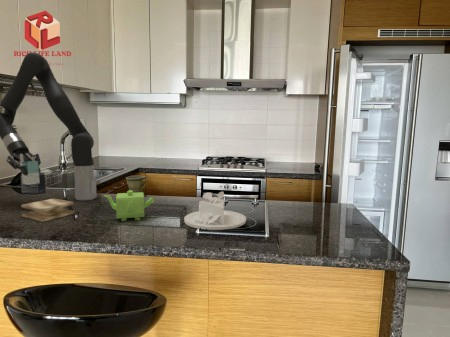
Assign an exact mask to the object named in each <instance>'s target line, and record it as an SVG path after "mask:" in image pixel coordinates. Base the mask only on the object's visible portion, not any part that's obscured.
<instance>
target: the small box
mask: <svg viewBox="0 0 450 337" xmlns="http://www.w3.org/2000/svg"><path fill="white" fill-rule="evenodd" d="M45 175H46V174H45V173H39V181H40V183H37V184H31V185H27V184H23V182H22V174H20V175H19V177H20V189H21V190H20V192H21V194H22V195H23V194H24V195H40V194H43V193H46V192H47V191H46V190H47V189H46V176H45Z"/></svg>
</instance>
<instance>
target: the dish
mask: <svg viewBox="0 0 450 337" xmlns="http://www.w3.org/2000/svg"><path fill="white" fill-rule="evenodd" d="M224 196H225V193H224V191H219V192H218V194H217V196H213V192H204V194H203V195H202V198H203V199H205V200H198V210H197V211H194V212H191V213H187V214H186V215H185V216H184V218H183V221H184V224H185V225H187V226H188V227H192V228H195V229H199V228H201V229H200V230H206V229H207V230H208V231H223V230H231V229H236V228H239V227H241V226H243V225H245V224H246V222H247V217H246V216H245V215H244V214H242V213H241V212H237V211H232V210H225V199H223V198H224ZM207 230H206V231H207Z"/></svg>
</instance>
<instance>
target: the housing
mask: <svg viewBox="0 0 450 337" xmlns="http://www.w3.org/2000/svg"><path fill="white" fill-rule="evenodd" d="M22 163H23V164H24V166H25V168H26V170H27V171H28V174H27V175H26V176H25V175H23V174H22V173H21V175H22V182H23V184H27V185H31V184H37V183H40V181H39V174H40V173H39V168H40V166H39V167H38V161H24V162H22Z"/></svg>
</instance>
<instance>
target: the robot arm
mask: <svg viewBox="0 0 450 337" xmlns="http://www.w3.org/2000/svg"><path fill="white" fill-rule="evenodd" d="M34 78H36V80H37V81H38V82H39V85H40V86H41V87H42V89H43V94H44V97H45V99H46V101H47V102H48V103H47V104H48V105H49V107H50V108H51V110H52V111H53V113H54V115H55V116H56V117H57V119H58V120H59V121H60V122H62V124H63V125H64V126H65V127H66V129H68V131H69V133H70V134H71V136H72V138H71V142H70V146H71V149H70V150H71V157H72V161H73V174H74V175H73V177H74V192H75V194H74V195H75V200H76V201H92V200H95V199H96V198H97V180H96V178H95V165H94V164H95V163H94V159H93V153H92V152H93V151H92V149H93V147H94V145H95V141H94V140H95V139H94V137H92V135H91V134H90V132H89V131H88V130H87V129H86V126H85V125H84V124H83V122H82V121H81V118H80V117H79V115H78V112H77V111H76V109H75V107H74V105H73V104H72V102H71V100H70V99H69V96H68V95H67V93H66V92H65V91H64V89H63V88H62V86H61V85H60V83H59V82H58V80H57V79H56V78H55V76H54V72H53V71H52V69H51V66H50V64H49V62H48V61H47V59H46V58H45V57H44V56H43V55H42V54H40V53H37V52H35V51H31V52H28V53H27V54H25V56H24V58H23V60H22V62H21V65H20V67H19V70H18V72H17V74H16V76H15V78H14V80H13V82H12V84H11V85H10V86H9V88H8V90H7V92H6V93H5V94H4V96H3V97H2V99H1V101H0V106H1V108H3V109H4V110H3V112H1V111H0V139H1V140H2V142H3V145H4V148H6V150H7V151H8V153H9V155H7V157H6V159H5V160H6V162H7V163H8V164H9V165H10V166H11V167H12V169H14V170H18V169H19V170H20V172H21V175H22V174H23V175H25V176H26V175H27V174H28V171H27V170H26V168H25V166H24V164H23V163H22V162H24V161H38V167H39V174H41V171H42V170H41V168H40V165H41V163H42V161H41V158H40V155H39V154H38V153H36V154H32V153H31V152H30V148H28V146H27V144H26V143H25V141H24V139H23V138H22V137H21V136H20V134H19V133H18V131H17V129H15V127H14V126H13V124H14V121H15V117H16V113H17V110H18V108H19V107H20V105H21V104H22V103H23V101H24V99H25V97H26V94H27V91H28V88H29V86H30V84H31V82H32V80H33V79H34Z"/></svg>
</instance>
